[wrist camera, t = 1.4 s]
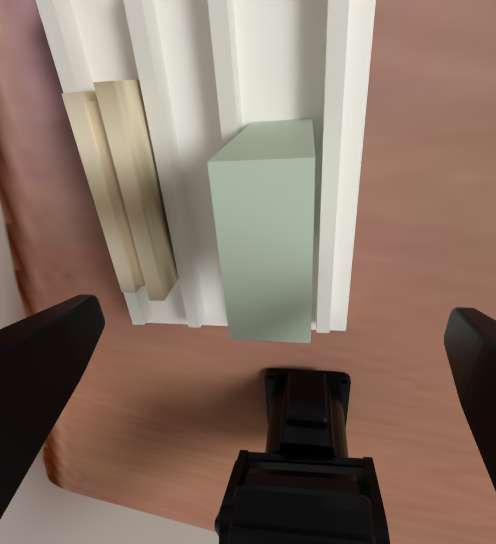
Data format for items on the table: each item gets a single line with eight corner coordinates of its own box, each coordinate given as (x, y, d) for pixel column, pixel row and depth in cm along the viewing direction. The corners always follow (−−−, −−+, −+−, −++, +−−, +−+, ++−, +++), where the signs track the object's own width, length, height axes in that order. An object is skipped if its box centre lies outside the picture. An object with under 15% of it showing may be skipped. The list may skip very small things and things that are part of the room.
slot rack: (344, 321, 24) (348, 346, 22) (142, 314, 26) (128, 335, 24) (378, -69, 14) (390, -95, 12) (50, -22, 16) (11, -36, 14)
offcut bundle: (183, 270, 22) (164, 300, 20) (144, 270, 23) (120, 299, 20) (147, 79, 17) (113, 80, 14) (97, 83, 18) (54, 85, 15)
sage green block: (309, 239, 20) (310, 343, 12) (259, 239, 21) (229, 339, 13) (312, 118, 17) (315, 157, 9) (252, 121, 17) (207, 162, 10)
